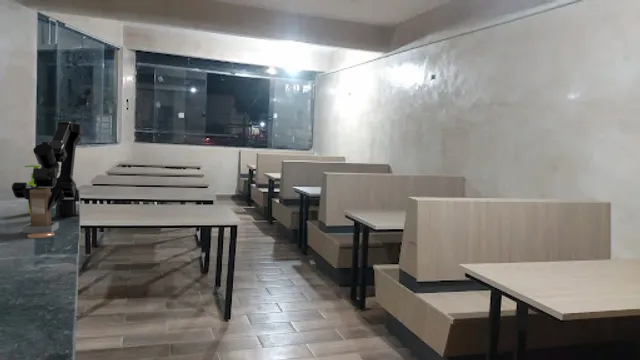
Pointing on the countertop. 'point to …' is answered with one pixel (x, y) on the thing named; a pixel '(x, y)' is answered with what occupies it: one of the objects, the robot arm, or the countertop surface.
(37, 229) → the gray tray
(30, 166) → the soap dispenser
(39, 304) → the countertop surface
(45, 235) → the brown curved piece
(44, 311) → the countertop surface
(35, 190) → the walnut box
